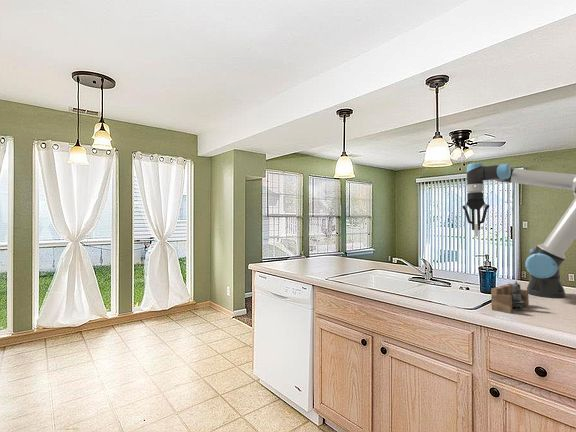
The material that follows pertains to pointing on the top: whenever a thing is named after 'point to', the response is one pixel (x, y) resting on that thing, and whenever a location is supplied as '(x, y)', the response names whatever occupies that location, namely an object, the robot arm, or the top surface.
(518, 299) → the grey chess piece
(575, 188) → the robot arm
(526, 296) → the brown wooden u-shaped block
